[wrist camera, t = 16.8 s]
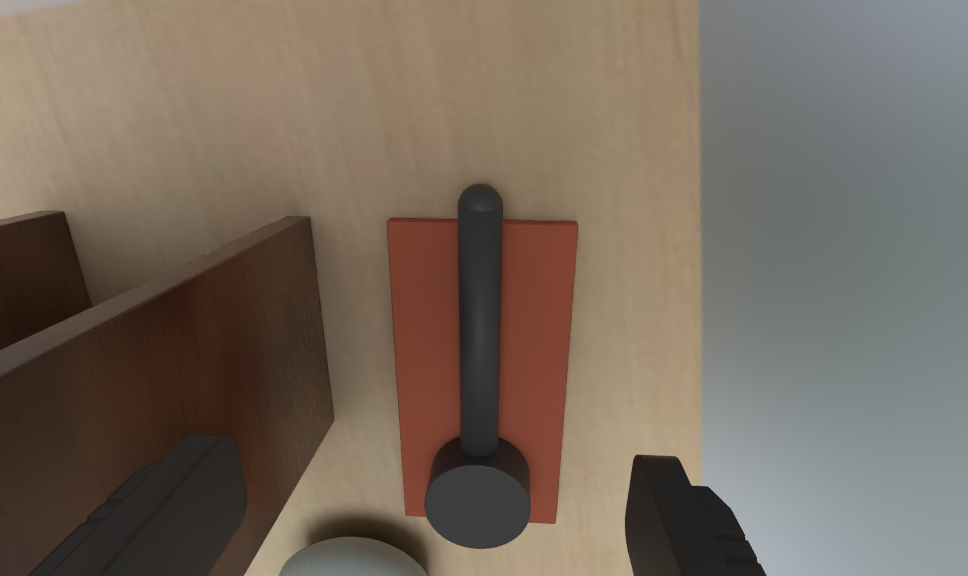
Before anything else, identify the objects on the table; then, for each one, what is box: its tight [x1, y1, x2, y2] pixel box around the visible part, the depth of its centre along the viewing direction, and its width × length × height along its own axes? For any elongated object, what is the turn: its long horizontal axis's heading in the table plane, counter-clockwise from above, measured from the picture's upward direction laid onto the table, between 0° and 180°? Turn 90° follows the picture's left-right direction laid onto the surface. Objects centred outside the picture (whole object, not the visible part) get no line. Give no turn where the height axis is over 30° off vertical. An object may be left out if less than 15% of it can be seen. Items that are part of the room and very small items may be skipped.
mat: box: [387, 218, 578, 524], centre depth 26 cm, size 18×9×1 cm, turn 0°
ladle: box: [424, 184, 531, 549], centre depth 24 cm, size 19×6×3 cm, turn 0°
